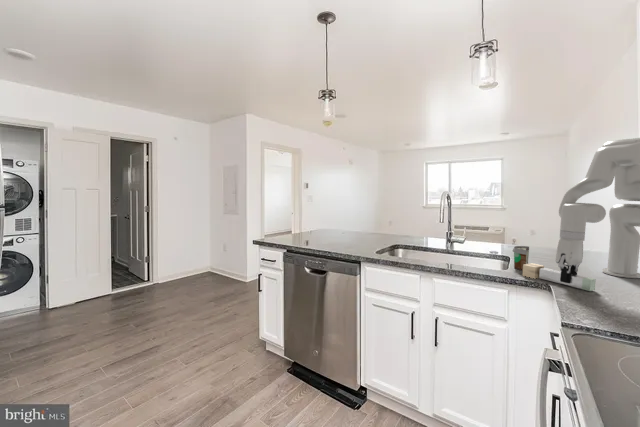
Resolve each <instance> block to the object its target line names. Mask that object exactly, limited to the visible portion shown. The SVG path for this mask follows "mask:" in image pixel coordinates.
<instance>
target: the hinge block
mask: <svg viewBox="0 0 640 427" xmlns="http://www.w3.org/2000/svg"><path fill="white" fill-rule="evenodd" d="M541 268H545V265H543V264H537V263H528V264H524V265H523V271H522V274H521V275H522V276H521V277H525V276H526V278H529V277H530V278H529V279H533V278H534V279H533V280H537V279H540V278H539V273H540V269H541ZM536 278H537V279H536Z"/></svg>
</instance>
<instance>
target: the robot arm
mask: <svg viewBox="0 0 640 427" xmlns="http://www.w3.org/2000/svg"><path fill="white" fill-rule="evenodd" d="M613 182H614V188H613V189H614V196H615V198H616V199H617V200H619V201H623V202H624V201H625V202H640V137H635V138H625V139H623V138H622V139H615V140H611V141H607V142H605V143H603V145H602V146H601V147H600V148H598V149H597V150H596V151H595V153H594V155H593V157H592V159H591V163H590V165H589V168H588V170H587V172H586V175H585V177H584V179H582V180H581V181H579V182H577V183H576V184H574V185H572V187H570V188H569V189H568V190H567V191H566V193H565V194H564V195H563V197H562V199H561V202H560V205H559V209H558V215H559V217H560V228H559V240H558V244H557V249H556V253H555V254H556V255H555V263H556V264H557V265H558V267H559V271H561V277H560V281H561V282H565V283H570V281H571V274H574V275H578V272H579V266H580V265H581V264H582V263H583V260H584V259H583V258H584V241H585V238H586V229H587V228H586V225H587V223H590V224H595V223H600V222H602V221H603V220H604V219H605V217H606V215H607V210H606V208H605V207H604V206H602V205H601V204H599V203H592V202H591V203H588V202H587V203H586V202H577V201H578V200H579V199H580V198H582V197H583V196H586V195H588V194H591V193H594V192H597V191H600V190H603V189H605V188H608V187H610V186H611V185H612V184H613ZM608 214H609V216H608V217H609V223H610V235H609V247H608V248H609V249H608V258H607V267H606V268H603V269H602V272H603V273H604V274H606V275H610V276H615V277H619V278H627V279H640V272H638V269H639V257H640V232H639V231H638V230H637V229H636V227H640V203H618V204H615V205H612V206H611V207H610V210H609V213H608Z"/></svg>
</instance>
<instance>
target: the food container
mask: <svg viewBox="0 0 640 427" xmlns="http://www.w3.org/2000/svg"><path fill="white" fill-rule="evenodd" d="M512 252H513V263H514V264H513V267H514V269H515V270H518V271H522V272H523V265H524V264H529V258H530V257H529V256H530V255H529V254H530V246H527V245H514V246H513V248H512Z"/></svg>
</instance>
